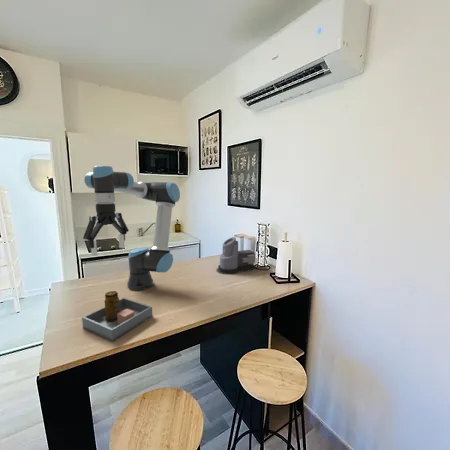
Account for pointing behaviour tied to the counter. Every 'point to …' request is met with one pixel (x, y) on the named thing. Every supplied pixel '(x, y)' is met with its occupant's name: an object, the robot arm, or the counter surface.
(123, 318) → the cube
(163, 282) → the counter surface
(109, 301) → the condiment
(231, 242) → the juicer
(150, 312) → the tote
